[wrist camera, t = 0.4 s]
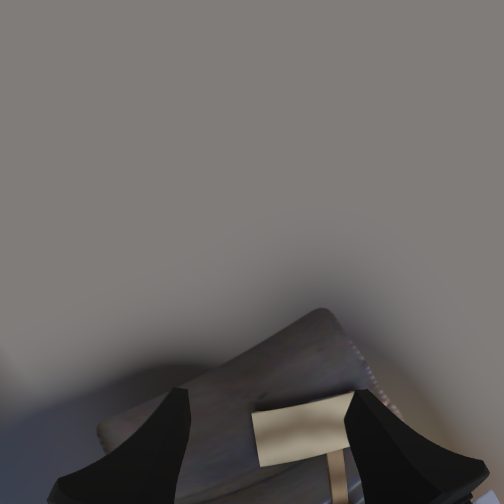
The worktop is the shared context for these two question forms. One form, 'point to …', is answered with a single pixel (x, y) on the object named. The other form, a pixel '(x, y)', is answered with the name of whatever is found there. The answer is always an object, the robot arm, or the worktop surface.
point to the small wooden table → (301, 430)
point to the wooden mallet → (337, 477)
